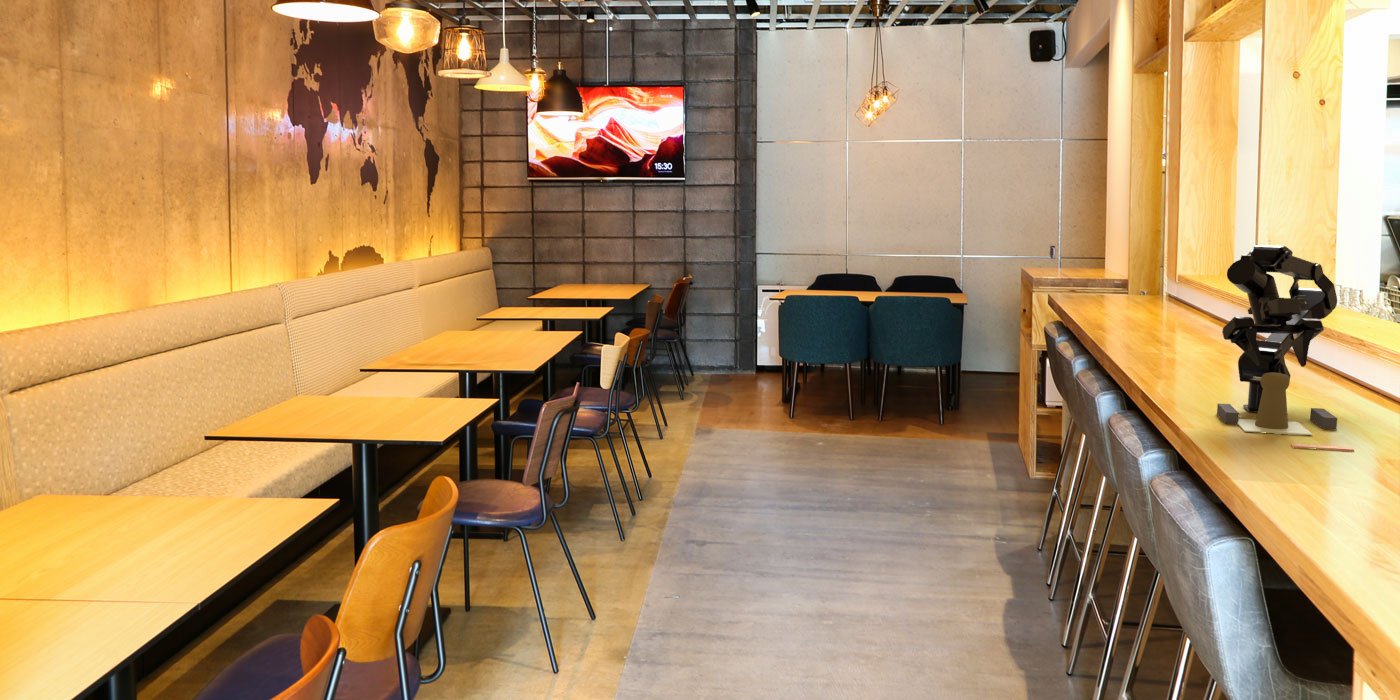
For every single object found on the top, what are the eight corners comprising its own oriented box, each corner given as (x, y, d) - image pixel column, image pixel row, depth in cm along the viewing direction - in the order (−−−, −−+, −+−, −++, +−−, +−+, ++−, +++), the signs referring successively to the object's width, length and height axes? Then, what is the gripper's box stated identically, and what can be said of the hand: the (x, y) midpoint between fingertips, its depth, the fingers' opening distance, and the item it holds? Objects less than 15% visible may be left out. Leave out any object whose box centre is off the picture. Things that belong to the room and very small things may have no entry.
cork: (1280, 423, 213) (1284, 370, 211) (1294, 429, 207) (1298, 375, 205) (1249, 422, 213) (1253, 370, 212) (1262, 428, 207) (1266, 375, 206)
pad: (1233, 420, 217) (1233, 418, 217) (1297, 423, 214) (1297, 421, 214) (1244, 432, 206) (1245, 430, 206) (1312, 436, 202) (1312, 434, 202)
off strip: (1290, 445, 195) (1290, 443, 195) (1350, 449, 192) (1350, 447, 192) (1293, 448, 193) (1293, 445, 193) (1353, 451, 190) (1354, 449, 190)
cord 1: (1216, 414, 224) (1217, 403, 223) (1229, 414, 223) (1229, 404, 222) (1225, 423, 214) (1226, 412, 214) (1238, 424, 213) (1238, 413, 213)
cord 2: (1310, 419, 218) (1310, 407, 218) (1322, 419, 217) (1323, 408, 217) (1322, 428, 209) (1323, 417, 208) (1336, 429, 208) (1337, 418, 208)
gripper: (1240, 279, 212) (1257, 346, 205) (1329, 282, 212) (1349, 349, 205) (1214, 305, 222) (1230, 370, 215) (1299, 308, 222) (1317, 373, 215)
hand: (1281, 365), depth 212 cm, fingers open, 9 cm apart
